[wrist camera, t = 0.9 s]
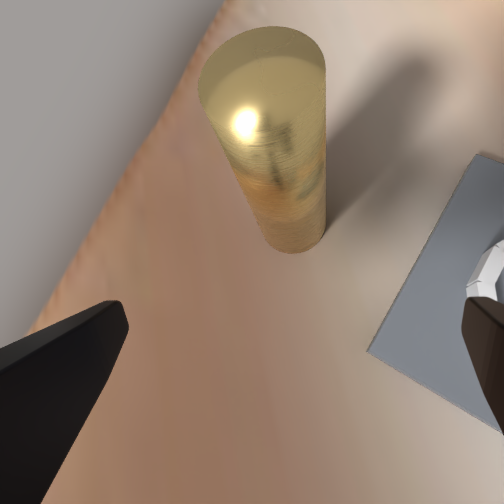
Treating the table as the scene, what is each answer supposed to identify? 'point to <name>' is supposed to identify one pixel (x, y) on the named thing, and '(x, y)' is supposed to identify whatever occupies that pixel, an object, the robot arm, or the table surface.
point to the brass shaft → (273, 129)
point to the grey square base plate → (450, 292)
